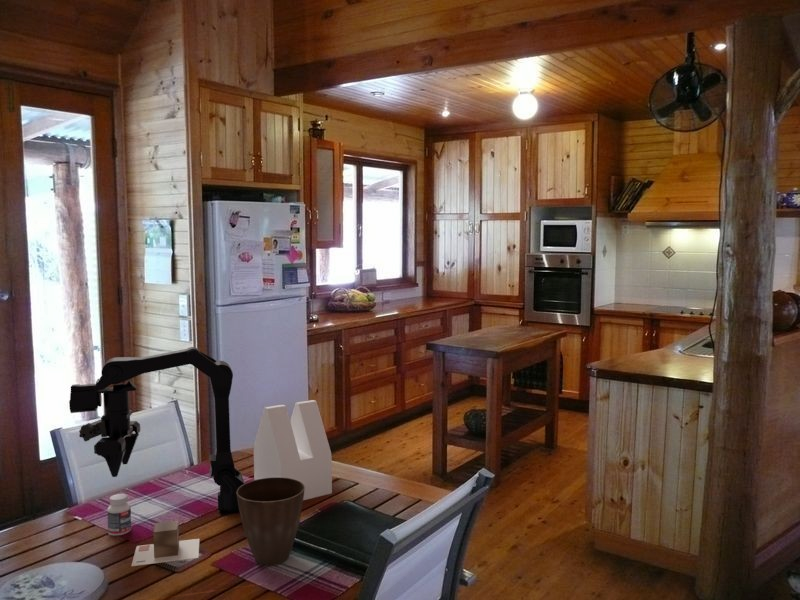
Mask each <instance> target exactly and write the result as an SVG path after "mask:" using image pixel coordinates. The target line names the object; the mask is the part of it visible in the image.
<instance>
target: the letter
mask: <svg viewBox="0 0 800 600" xmlns="http://www.w3.org/2000/svg"><path fill="white" fill-rule="evenodd" d="M199 551H200V538H192V539H185V540H184V539H183V540H179V550H178V555H176V556H168V557H160V558H154V543H150V544H143V545H136V546H135V551H134V555H133V559H132V562H131V565H130V566H131V567H137V566H145V565H152V564H159V563H161V564H162V563H167V562H168V563H169V562H177V561H184V560H185V561H186V560H193V559H199V553H200V552H199Z"/></svg>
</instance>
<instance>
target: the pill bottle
mask: <svg viewBox="0 0 800 600" xmlns="http://www.w3.org/2000/svg"><path fill="white" fill-rule="evenodd" d="M128 498H129V497H128V494H125V493H116V494H114V495H111V496H110V497H109V506H108V507H107V510H106V512H107V533H108V535H110V536H122V535H125V534H127V533H130V531H131V530H132V510H131V504H130V503H129V502H128Z"/></svg>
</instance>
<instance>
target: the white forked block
mask: <svg viewBox="0 0 800 600" xmlns="http://www.w3.org/2000/svg"><path fill="white" fill-rule="evenodd" d="M288 411H289V410H288V407H287V405H285V404H278V405H272V406H264V407H263V412H262V415H261V418H260V422H259V426H258V429H257V433H256V436H255V437H256V438H255V440H254V444H253V474H254V475H253V476H254V477H253V478H254V479H253V481H254V480H258V479H263V478H275V477H279V478H290V479H294V480H297V481H300V482H301V483H303V484H304V486H305V489H304V497H303V501H306V500H310V499H314V498H318V497H322V496H326V495H331V494H332V493H333V476H332V475H333V472H332V468H333V467H332V464H333V463H332V461H333V460H332V451H331V447H330V445H329V440H328V437H327V436H328V435H327V434H326V430H325V426H324V423H323V419H322V416H321V413H320V408H319V405H318V402H317V400H315V399H311V400H310V399H309V400H306V401H305V400H304V401H298V402H295V404H294V407H293V411H292V414H291V417H290V415H289V412H288Z"/></svg>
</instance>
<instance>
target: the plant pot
mask: <svg viewBox="0 0 800 600" xmlns="http://www.w3.org/2000/svg"><path fill="white" fill-rule="evenodd" d="M244 483H245V482H244ZM304 489H305V486H304V484H303V483H301V482H300V481H297V480H294V479H290V478H279V477H275V478H263V479H258V480H254V479H253V480H251V481H247V482H246V483H245V484H243V485H242V486H240V487H239V488H238V489H237V492H236V493H237V499H238V505H239V511H240V513H239V515H240V518H241V523H242V527H243V530H244V531H243V532H244V534H245V538H246V541H247V543H248V545H249V549H250V552H251V554H252V556H253V558H254V561H255V562H256V563H257V564H259V565H260V566H261V565H262V566H268V567H269V566H276V565H281V564H283V563H285V562H287V561H288V560H289V557H290V554H291V551H292V549H293V545H294V544H295V543H294V542H295V541H296V537H297V533H298V532H297V531H298V529H299V525H300V521H301V520H300V519H301V517H302V510H303V504H304V500H303V497H304Z"/></svg>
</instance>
